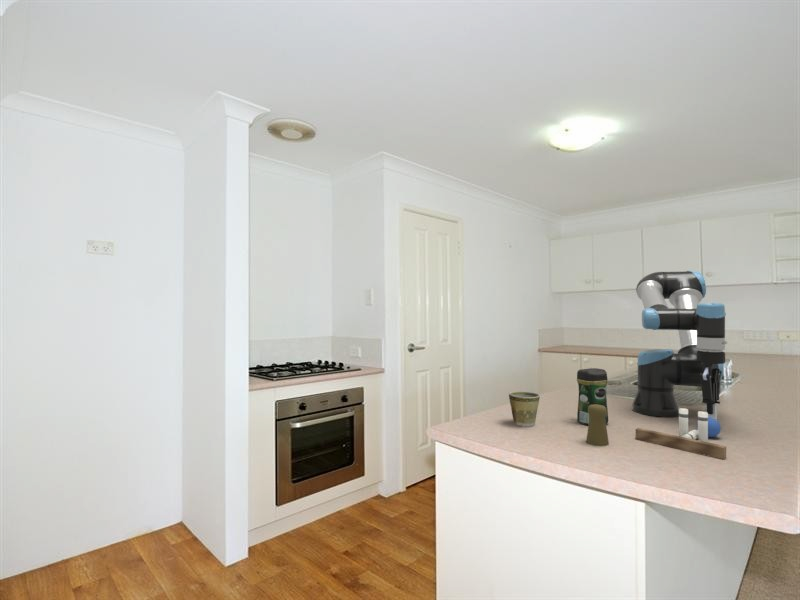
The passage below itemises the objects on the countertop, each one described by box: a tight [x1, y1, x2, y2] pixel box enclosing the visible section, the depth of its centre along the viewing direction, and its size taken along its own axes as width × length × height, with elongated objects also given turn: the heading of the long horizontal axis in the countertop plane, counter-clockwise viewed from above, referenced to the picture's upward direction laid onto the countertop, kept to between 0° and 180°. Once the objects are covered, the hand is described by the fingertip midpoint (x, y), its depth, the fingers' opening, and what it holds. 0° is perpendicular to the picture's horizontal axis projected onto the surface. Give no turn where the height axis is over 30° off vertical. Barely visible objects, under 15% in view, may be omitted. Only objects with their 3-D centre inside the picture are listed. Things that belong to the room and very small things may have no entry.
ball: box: [696, 417, 722, 438], centre depth 133 cm, size 6×6×6 cm
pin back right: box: [697, 410, 709, 443], centre depth 128 cm, size 2×2×9 cm
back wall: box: [635, 427, 727, 460], centre depth 123 cm, size 22×2×3 cm, turn 39°
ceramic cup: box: [508, 391, 541, 428], centre depth 148 cm, size 13×10×10 cm
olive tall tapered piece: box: [586, 404, 610, 447], centre depth 127 cm, size 6×6×11 cm
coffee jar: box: [576, 367, 609, 426], centre depth 149 cm, size 10×8×19 cm
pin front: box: [682, 429, 698, 440], centre depth 129 cm, size 2×2×9 cm
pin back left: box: [678, 407, 689, 437], centre depth 132 cm, size 2×2×9 cm
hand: (711, 423), depth 141 cm, fingers closed
